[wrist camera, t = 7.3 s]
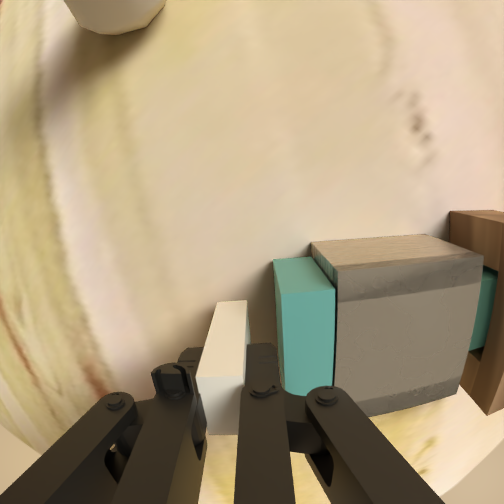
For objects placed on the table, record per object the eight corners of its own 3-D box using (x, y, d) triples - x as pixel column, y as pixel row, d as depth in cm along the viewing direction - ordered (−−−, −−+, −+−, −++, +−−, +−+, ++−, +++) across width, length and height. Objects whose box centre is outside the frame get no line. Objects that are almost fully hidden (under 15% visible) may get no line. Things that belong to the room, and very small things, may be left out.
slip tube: (278, 358, 18) (285, 417, 12) (272, 259, 16) (281, 294, 11) (469, 327, 17) (513, 361, 12) (480, 242, 16) (535, 261, 11)
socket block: (434, 357, 18) (486, 416, 11) (450, 211, 16) (531, 230, 9) (475, 345, 18) (529, 394, 11) (492, 210, 16) (569, 227, 9)
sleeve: (312, 362, 18) (331, 423, 12) (311, 242, 16) (338, 271, 11) (414, 346, 18) (456, 393, 12) (425, 234, 16) (483, 255, 11)
